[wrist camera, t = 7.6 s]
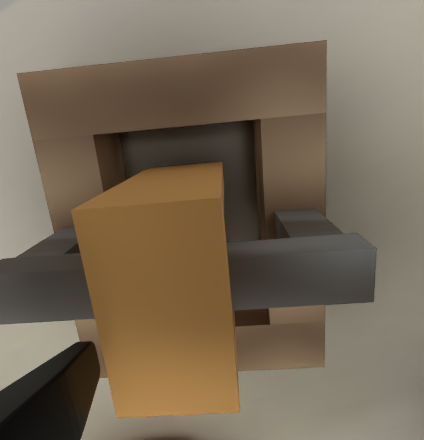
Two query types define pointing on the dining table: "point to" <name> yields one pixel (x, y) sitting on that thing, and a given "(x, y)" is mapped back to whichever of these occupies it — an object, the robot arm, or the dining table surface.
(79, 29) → the dining table surface
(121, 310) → the orange arch block
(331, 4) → the dining table surface
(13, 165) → the dining table surface
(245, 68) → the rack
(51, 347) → the dining table surface
